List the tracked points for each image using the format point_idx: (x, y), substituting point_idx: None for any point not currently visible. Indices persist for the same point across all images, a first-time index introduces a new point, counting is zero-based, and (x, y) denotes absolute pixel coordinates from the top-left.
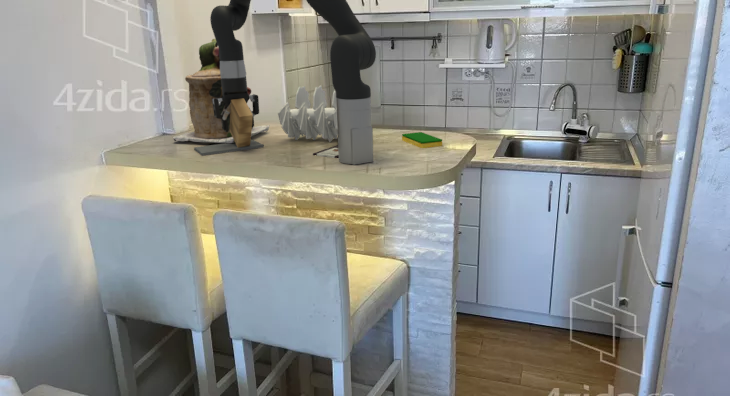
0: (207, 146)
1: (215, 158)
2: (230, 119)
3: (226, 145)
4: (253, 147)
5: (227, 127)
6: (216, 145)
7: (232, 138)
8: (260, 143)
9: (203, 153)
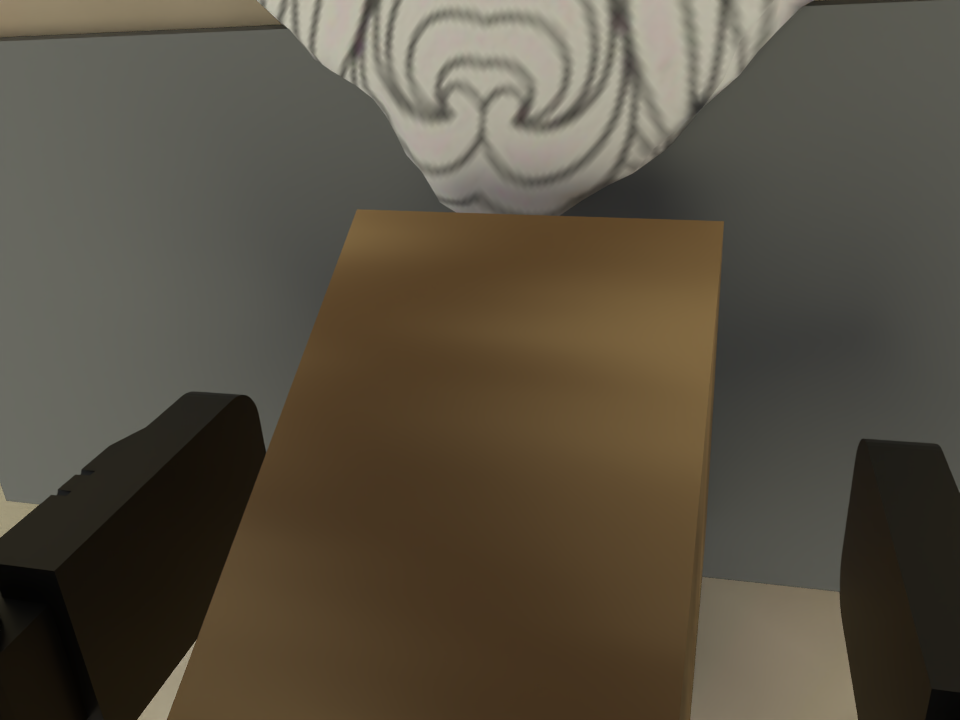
0: (49, 119)
1: (173, 677)
2: (220, 651)
3: None
4: (737, 567)
5: (213, 594)
6: (193, 131)
7: (499, 55)
8: (957, 476)
9: (27, 497)
